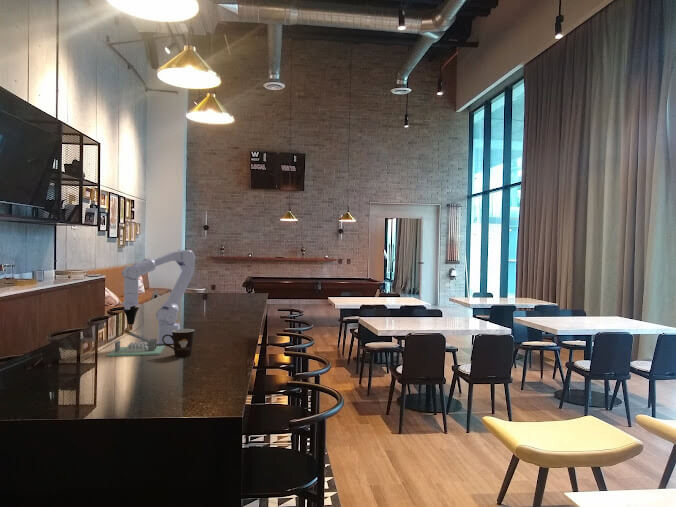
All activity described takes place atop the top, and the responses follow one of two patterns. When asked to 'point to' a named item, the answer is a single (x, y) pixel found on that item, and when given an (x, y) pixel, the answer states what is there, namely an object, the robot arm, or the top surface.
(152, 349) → the heatsink board
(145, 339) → the brown and grey bar
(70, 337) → the top surface
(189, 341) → the coffee mug
